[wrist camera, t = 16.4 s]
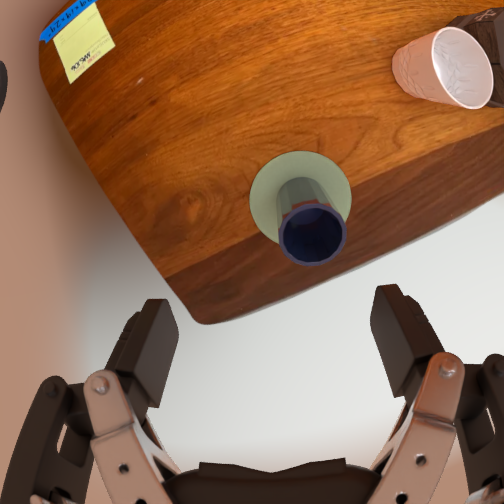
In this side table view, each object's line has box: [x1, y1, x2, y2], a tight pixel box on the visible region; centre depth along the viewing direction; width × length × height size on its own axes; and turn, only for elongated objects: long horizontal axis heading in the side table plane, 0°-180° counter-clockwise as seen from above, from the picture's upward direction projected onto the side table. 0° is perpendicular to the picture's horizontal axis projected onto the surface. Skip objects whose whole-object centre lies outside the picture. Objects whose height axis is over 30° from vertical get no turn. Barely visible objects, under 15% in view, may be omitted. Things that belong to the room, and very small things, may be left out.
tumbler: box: [276, 177, 347, 266], centre depth 28 cm, size 6×6×9 cm
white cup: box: [392, 27, 493, 109], centre depth 18 cm, size 8×8×10 cm
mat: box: [249, 151, 351, 243], centre depth 32 cm, size 12×12×1 cm
